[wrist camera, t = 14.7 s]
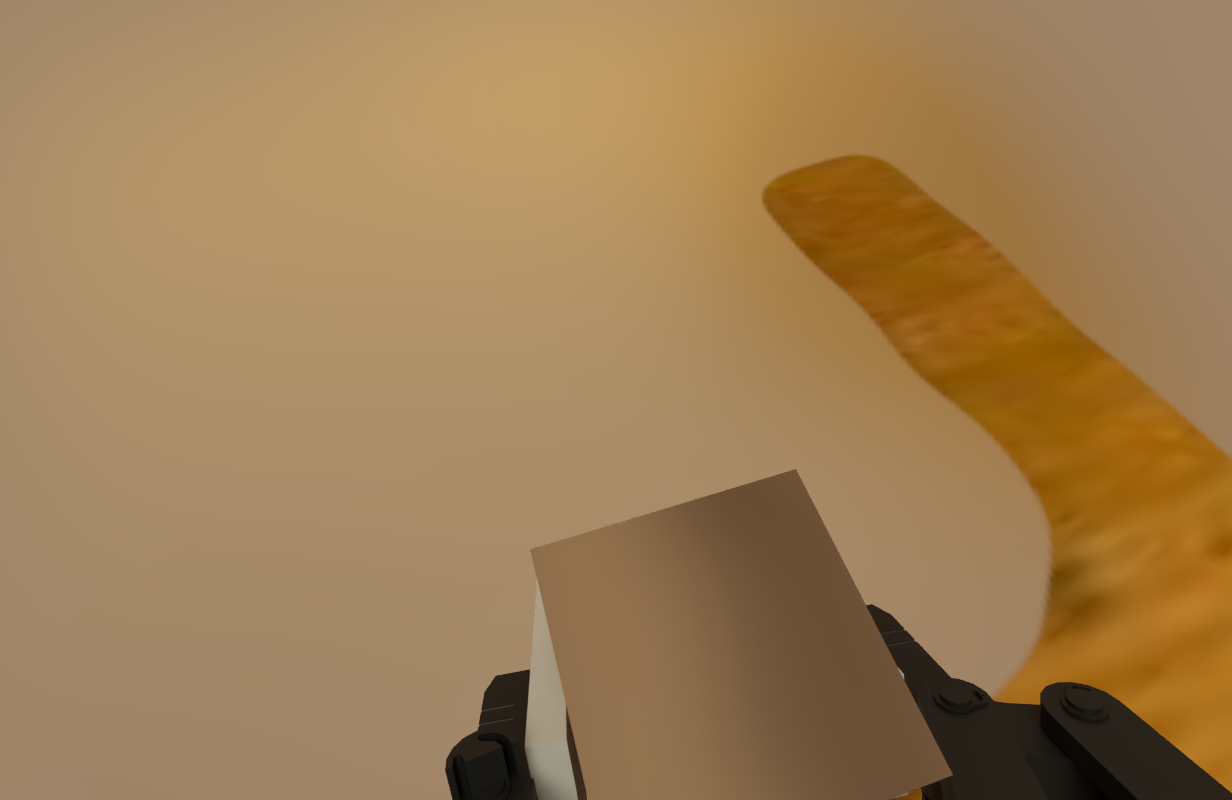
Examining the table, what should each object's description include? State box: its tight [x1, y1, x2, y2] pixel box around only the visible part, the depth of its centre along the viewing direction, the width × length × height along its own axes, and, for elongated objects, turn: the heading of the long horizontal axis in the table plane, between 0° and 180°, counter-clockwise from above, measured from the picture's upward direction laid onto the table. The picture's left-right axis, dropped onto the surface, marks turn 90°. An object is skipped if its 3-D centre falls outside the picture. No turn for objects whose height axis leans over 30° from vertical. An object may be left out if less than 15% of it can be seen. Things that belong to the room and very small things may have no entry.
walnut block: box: [531, 469, 953, 800], centre depth 14 cm, size 5×5×11 cm
